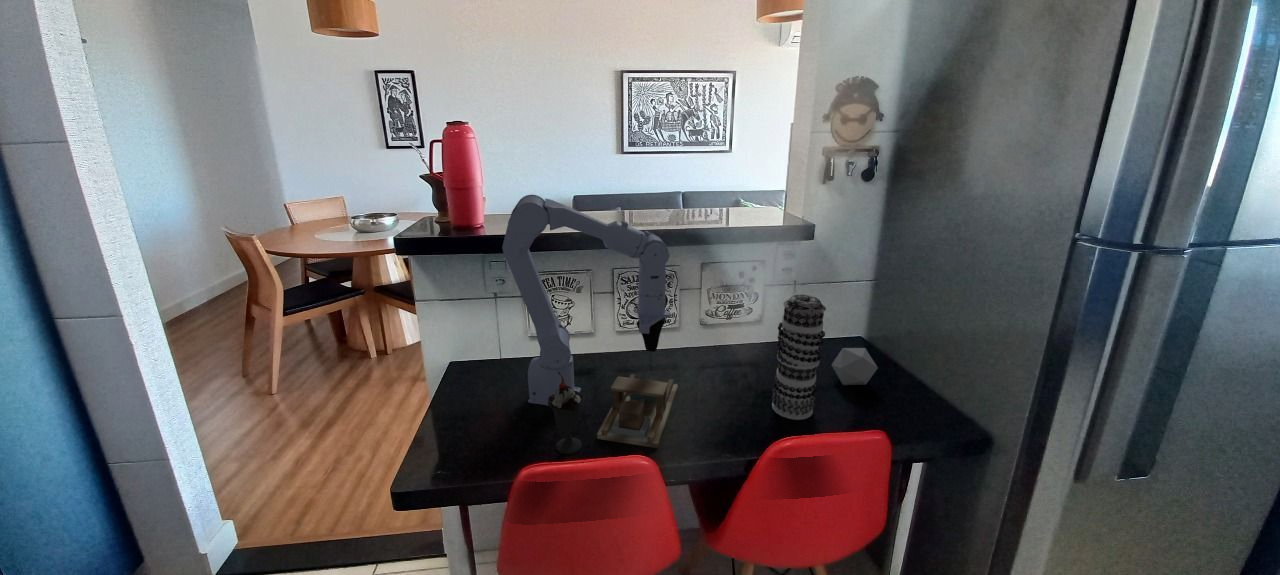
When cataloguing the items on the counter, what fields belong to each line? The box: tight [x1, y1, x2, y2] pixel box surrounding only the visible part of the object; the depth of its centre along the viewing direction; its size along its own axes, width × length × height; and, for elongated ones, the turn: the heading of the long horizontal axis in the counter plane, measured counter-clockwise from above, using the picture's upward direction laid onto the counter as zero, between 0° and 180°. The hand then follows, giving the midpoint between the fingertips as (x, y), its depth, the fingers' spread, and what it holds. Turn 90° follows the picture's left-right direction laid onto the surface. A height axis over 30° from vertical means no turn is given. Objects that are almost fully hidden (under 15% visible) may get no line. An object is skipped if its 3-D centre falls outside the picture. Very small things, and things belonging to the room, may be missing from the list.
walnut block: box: [619, 401, 644, 431], centre depth 98 cm, size 4×4×4 cm
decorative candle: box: [771, 294, 827, 421], centre depth 103 cm, size 9×9×25 cm
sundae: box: [547, 372, 586, 455], centre depth 92 cm, size 7×7×15 cm
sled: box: [612, 377, 656, 438], centre depth 102 cm, size 6×14×5 cm, turn 166°
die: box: [831, 347, 879, 386], centre depth 116 cm, size 8×9×10 cm
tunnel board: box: [596, 373, 679, 449], centre depth 105 cm, size 12×22×7 cm, turn 166°
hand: (651, 350), depth 111 cm, fingers closed
